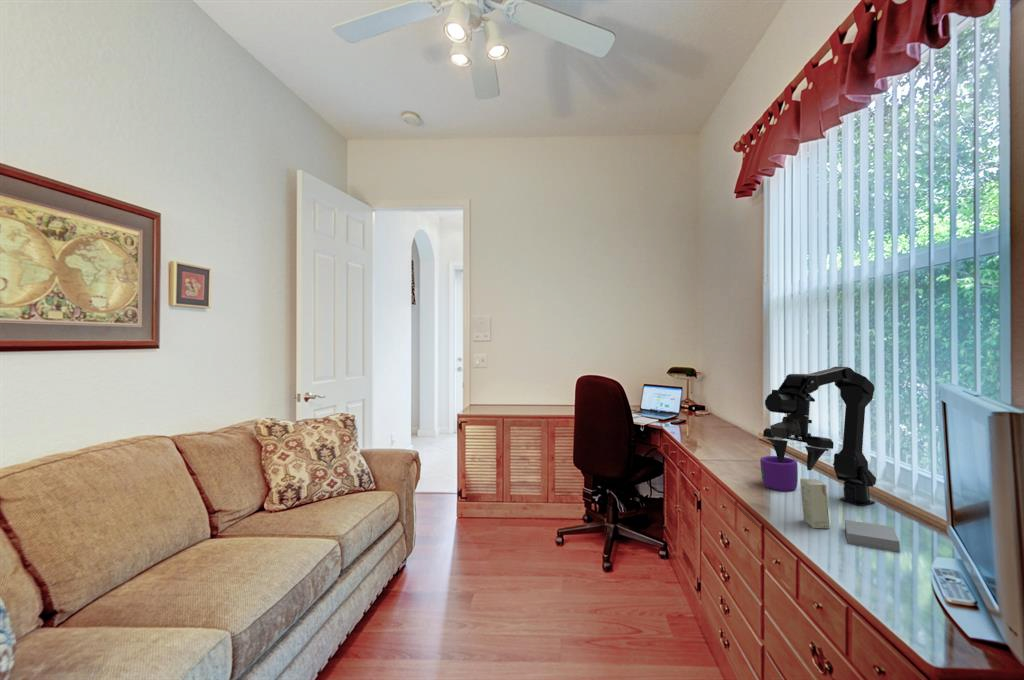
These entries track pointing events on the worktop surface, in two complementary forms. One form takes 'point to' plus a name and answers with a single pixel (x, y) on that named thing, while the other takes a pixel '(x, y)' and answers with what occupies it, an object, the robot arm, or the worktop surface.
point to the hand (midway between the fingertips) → (794, 466)
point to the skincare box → (814, 503)
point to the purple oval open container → (779, 473)
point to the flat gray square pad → (872, 535)
